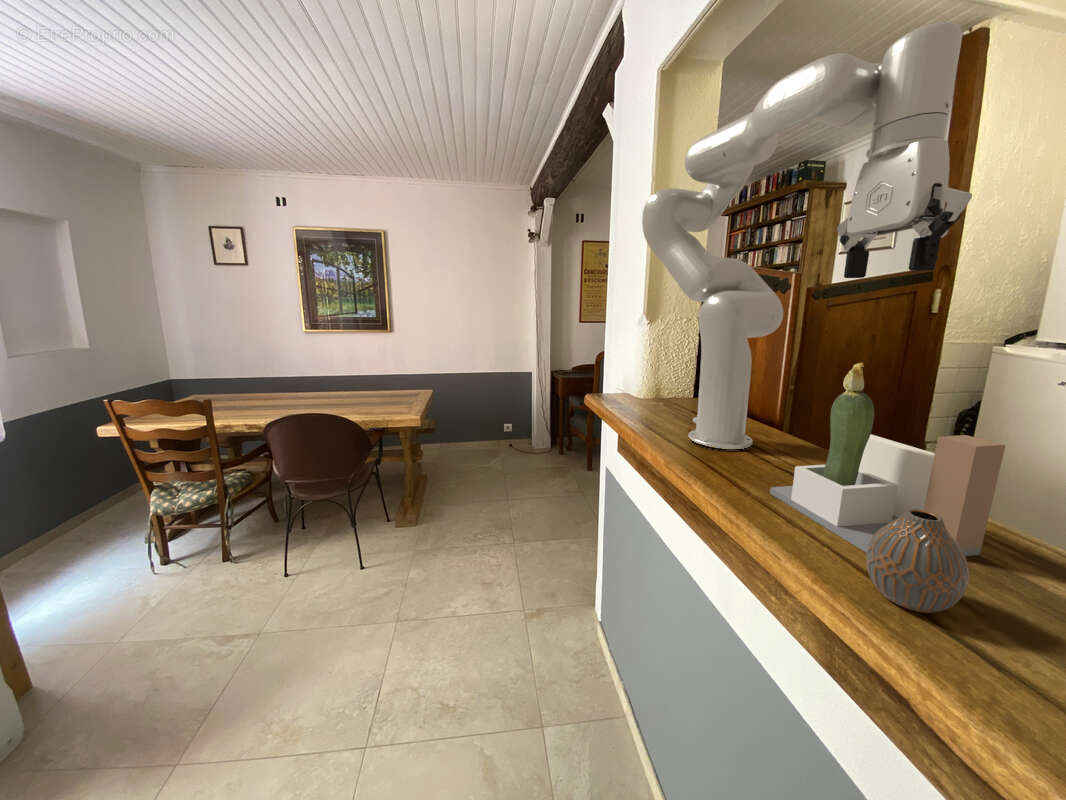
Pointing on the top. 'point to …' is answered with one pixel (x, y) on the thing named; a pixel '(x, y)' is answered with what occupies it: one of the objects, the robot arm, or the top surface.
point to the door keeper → (904, 489)
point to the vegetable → (849, 429)
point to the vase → (918, 563)
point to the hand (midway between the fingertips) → (885, 274)
